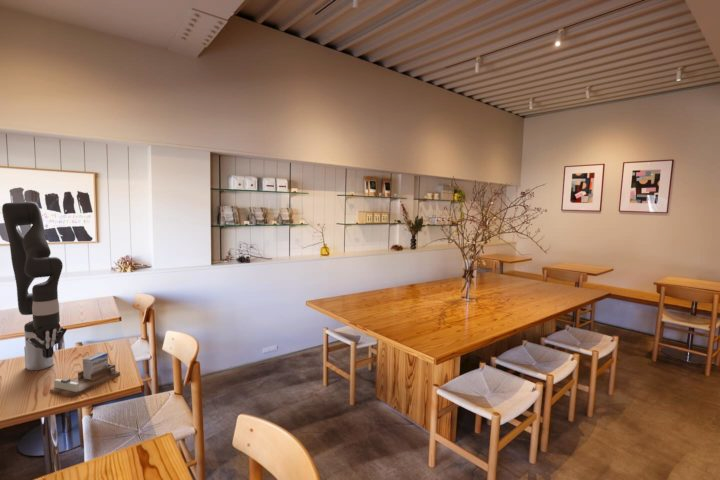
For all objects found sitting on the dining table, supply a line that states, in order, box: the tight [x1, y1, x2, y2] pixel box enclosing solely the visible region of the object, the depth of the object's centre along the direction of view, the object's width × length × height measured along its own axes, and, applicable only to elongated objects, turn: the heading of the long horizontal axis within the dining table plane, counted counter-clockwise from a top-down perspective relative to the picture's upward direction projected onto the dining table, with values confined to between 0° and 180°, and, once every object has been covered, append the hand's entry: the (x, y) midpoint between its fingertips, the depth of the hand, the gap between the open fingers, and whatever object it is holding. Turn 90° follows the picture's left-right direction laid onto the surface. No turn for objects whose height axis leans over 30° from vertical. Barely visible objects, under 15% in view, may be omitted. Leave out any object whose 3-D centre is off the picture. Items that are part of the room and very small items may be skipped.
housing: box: [49, 363, 121, 398], centre depth 153 cm, size 12×20×4 cm, turn 165°
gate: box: [53, 377, 79, 392], centre depth 145 cm, size 11×2×4 cm, turn 75°
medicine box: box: [82, 351, 109, 380], centre depth 157 cm, size 8×4×9 cm, turn 166°
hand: (48, 357), depth 138 cm, fingers closed
